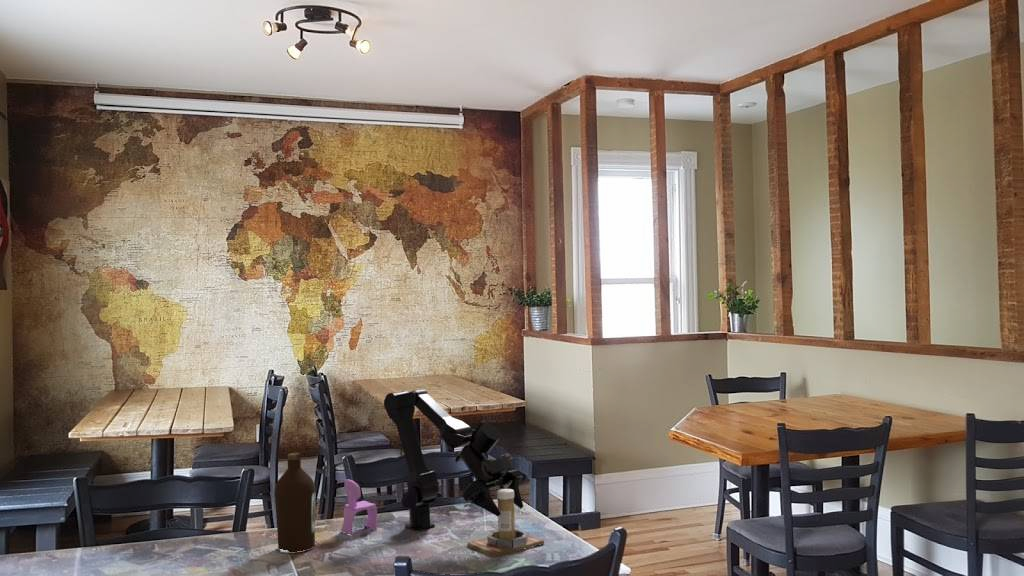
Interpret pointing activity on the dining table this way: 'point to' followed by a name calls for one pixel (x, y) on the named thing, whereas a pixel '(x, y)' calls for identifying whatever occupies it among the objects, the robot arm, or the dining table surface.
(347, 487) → the toy chair
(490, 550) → the wooden base board
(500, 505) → the sprinkles bottle
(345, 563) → the dining table surface
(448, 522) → the dining table surface
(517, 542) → the ring
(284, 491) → the olive oil
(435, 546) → the dining table surface
